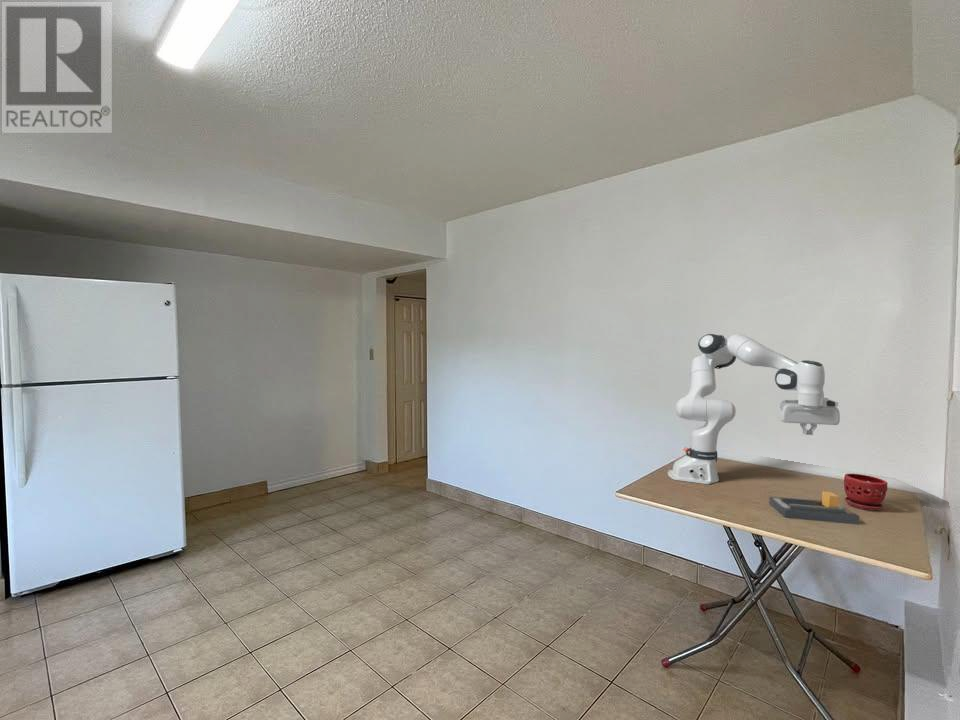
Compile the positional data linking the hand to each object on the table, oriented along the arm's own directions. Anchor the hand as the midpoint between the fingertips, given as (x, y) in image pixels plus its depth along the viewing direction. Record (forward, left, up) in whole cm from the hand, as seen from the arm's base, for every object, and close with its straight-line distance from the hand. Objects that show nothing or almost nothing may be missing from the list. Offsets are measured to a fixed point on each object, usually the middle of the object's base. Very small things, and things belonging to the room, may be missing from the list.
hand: (808, 434), depth 176 cm
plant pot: (+23, +4, -29) cm, 37 cm away
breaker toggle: (+4, -10, -26) cm, 28 cm away
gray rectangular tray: (-2, -10, -29) cm, 31 cm away
